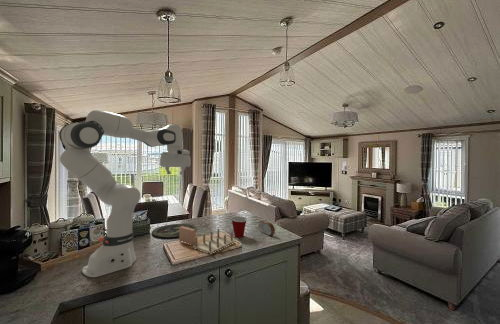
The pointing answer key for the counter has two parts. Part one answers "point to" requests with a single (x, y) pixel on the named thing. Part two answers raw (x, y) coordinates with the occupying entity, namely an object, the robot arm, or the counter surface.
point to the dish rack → (213, 243)
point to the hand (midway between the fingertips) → (175, 174)
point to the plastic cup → (239, 225)
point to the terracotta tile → (187, 235)
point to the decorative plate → (169, 231)
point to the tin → (266, 228)
